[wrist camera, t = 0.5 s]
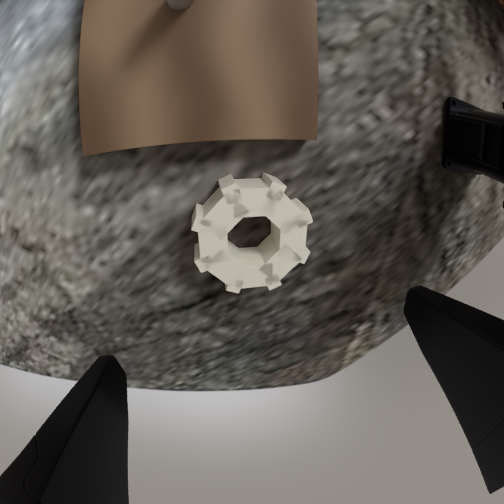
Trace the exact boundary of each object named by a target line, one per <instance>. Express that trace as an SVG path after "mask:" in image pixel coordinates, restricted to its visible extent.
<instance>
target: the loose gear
mask: <svg viewBox="0 0 504 504" xmlns="http://www.w3.org/2000/svg"><path fill="white" fill-rule="evenodd" d="M218 181H219V185H220V187H219V188H218V189H217V190H216V191H215V192H214V193H213V194H212V195H211V196H210V197H209V198H208V200H207V201H206V202H205V203H204V204H203V205H200V204H197V203H196V206H195V209H194V211H193V214H192V226H191V230H192V231H195V232H198V237H199V242H198V243H196V244H195V260H194V262H195V264H196V265H197V267H198V269H199V270H200V272H201V273H203V272H205V271H209V272H210V273H211V274H213V275H214V276H216V277H217V278H218V279H220V280H221V281H223V282H224V283H225V288H226V291H230V292H234V293H238V294H239V292H240V290H241V289H242V288H252V287H262V286H268V288H269V290H272V289H274V288H276V287H278V286H280V285H282V284H281V282H280V280H281V279H282V278H283V277H284V276H285V275H286V274H287V273H288V272H289V271H290V270H291V269H292V268H293V267H294V266H296V265H297V264H298V263H299V262H300V263H303V264H305V262H306V260H307V258H308V256H309V254H310V251H309V250H308V248H307V247H306V246H305V245H306V234H307V225H308V224H310V223H312V222H313V220H312V217H311V214H310V211H309V209H308V208H307V207H306V206H305V205H303V204H302V203H301V202H300V201H299V200H298V199H297V198H294V199H292V200H290V199H289V198H288V197H287V196H286V195H285V194H284V191H285V189H286V187H287V186H285V185H284V184H283V183H282V182H281V181H280V180H278V179H277V178H276V177H274V176H271V175H269V174H266V173H264V172H263V174H262V177H261V178H253V179H234V178H233V176H232V174H229V175H227V176H225V177H223V178H221V179H218ZM258 216H266V217H267V218H268V219H269V220H270V221H271V232H270V234H269V235H268V236H267V237H266V238H265V239H264V240H263V241H262V242H261V243H260V244H259V245H258V246H257V247H246V248H238V247H237V246H235V245H234V244H233V243H232V242H230V241H229V240H228V237H227V233H228V232H229V231H230V230H231V229H232V228H233V227H234V226H235V225H236V224H237V223H238V222H239V221H240V220H241V219H242V218H243V217H258Z"/></svg>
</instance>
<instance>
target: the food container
mask: <svg viewBox="0 0 504 504" xmlns="http://www.w3.org/2000/svg"><path fill="white" fill-rule="evenodd" d="M494 1H495V2H496V3H497V4H498V5H499V6H500V7H501V8H502V9H503V10H504V0H494Z"/></svg>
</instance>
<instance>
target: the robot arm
mask: <svg viewBox="0 0 504 504" xmlns="http://www.w3.org/2000/svg"><path fill="white" fill-rule="evenodd" d="M502 105H503V109H504V102H502ZM447 162H448V163H447ZM442 165H443V167H444V168H446V169H450V170H456V171H462V172H468V173H474V174H479V175H481V174H483V175H485V176H487V177H490V178H492V179H494V180H497V181H499V182H501V183H503V184H504V115H502V114H497V113H492V112H487V111H484V110H482V109H480V108H477V107H475V106H473V105H471V104H468V103H466V102H464V101H461V100H459V99H457V98H454V97H448V99H447V115H446V131H445V143H444V153H443V161H442ZM503 208H504V201H503ZM404 315H405V317H406V319H407V321H408V324H409V326H410V328H411V330H412V332H413V334H414V336H415V338H416V340H417V343H418V345H419V347H420V349H421V351H422V353H423V355H424V357H425V359H426V360H427V362H428V364H429V365H430V367H431V369H432V371H433V373H434V375H435V376H436V378H437V380H438V382H439V384H440V386H441V387H442V389H443V391H444V393H445V395H446V397H447V399H448V401H449V403H450V405H451V406H452V408H453V410H454V412H455V414H456V416H457V419H458V421H459V423H460V425H461V427H462V429H463V431H464V433H465V435H466V438H467V439H468V442H469V444H470V446H471V448H472V451H473V454H474V456H475V458H476V461H477V463H478V466H479V468H480V471H481V473H482V476H483V478H484V481H485V484H486V486H487V489H488V491H489V493H490V494H491V493H493V492H495V491H497V490H498V489H500V488H502V487H504V320H502V319H500V318H498V317H495V316H493V315H490V314H488V313H486V312H484V311H481V310H479V309H476V308H474V307H471V306H469V305H467V304H464V303H462V302H460V301H457V300H455V299H452V298H450V297H447V296H445V295H443V294H440V293H438V292H435V291H433V290H430V289H428V288H425V287H423V286H415V287H413V288H410V289H409V290H408V292H407V296H406V301H405V305H404ZM0 504H129V497H128V403H127V378H126V374H125V371H124V370H123V368H122V367H121V365H120V364H119V362H118V361H117V359H116V358H115V357H114V356H113V355H111V354H109V355H101V356H99V357H98V359H97V360H96V361H95V362H94V363H93V364H92V365H91V367H90V368H89V369H88V370H87V371H86V373H85V374H84V375H83V376H82V377H81V378H80V380H79V381H78V382H77V383H76V384H75V386H74V387H73V388H72V389H71V390H70V392H69V393H68V394H67V396H65V398H64V399H63V400H62V401H61V403H60V404H59V405H58V406H57V407H56V409H55V410H54V411H53V412H52V414H51V415H50V416H49V417H48V419H47V420H46V421H45V423H44V424H43V425H42V426H41V428H40V429H39V430H38V431H37V433H36V435H34V436H33V438H32V439H31V440H30V442H29V443H28V444H27V445H26V447H25V448H24V449H23V451H22V452H21V453H20V455H18V457H17V458H16V459H15V460H14V461H13V462H12V463H11V465H10V466H9V467H8V468H7V469H6V470H5V471H4V472H3V473H2V475H1V476H0Z"/></svg>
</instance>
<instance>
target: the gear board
mask: <svg viewBox="0 0 504 504" xmlns="http://www.w3.org/2000/svg"><path fill="white" fill-rule="evenodd" d="M79 111H80V128H81V140H82V151H83V156H88V155H94V154H99V153H105V152H111V151H117V150H124V149H131V148H138V147H146V146H155V145H164V144H174V143H186V142H199V141H216V140H242V139H294V140H317V119H318V29H317V4H316V0H85V1H84V8H83V16H82V25H81V37H80V53H79Z"/></svg>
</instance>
